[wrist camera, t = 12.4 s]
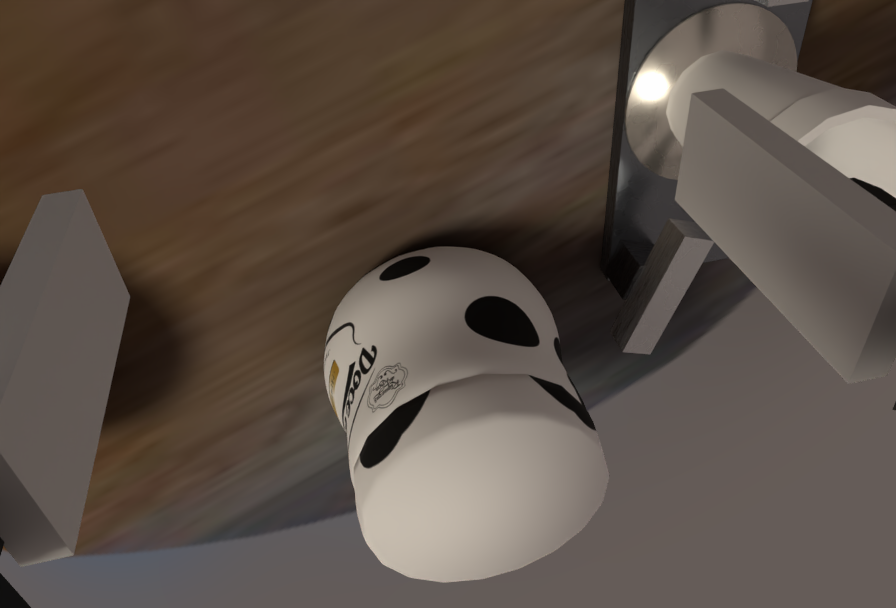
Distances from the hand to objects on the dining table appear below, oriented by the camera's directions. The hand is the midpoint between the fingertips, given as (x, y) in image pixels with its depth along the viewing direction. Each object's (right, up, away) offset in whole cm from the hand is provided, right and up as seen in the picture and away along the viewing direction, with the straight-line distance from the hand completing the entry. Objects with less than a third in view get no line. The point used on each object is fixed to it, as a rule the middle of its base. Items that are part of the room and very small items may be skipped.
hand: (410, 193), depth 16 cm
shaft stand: (+18, +12, +33) cm, 39 cm away
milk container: (-1, -4, +40) cm, 40 cm away
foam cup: (+18, +11, +31) cm, 38 cm away
